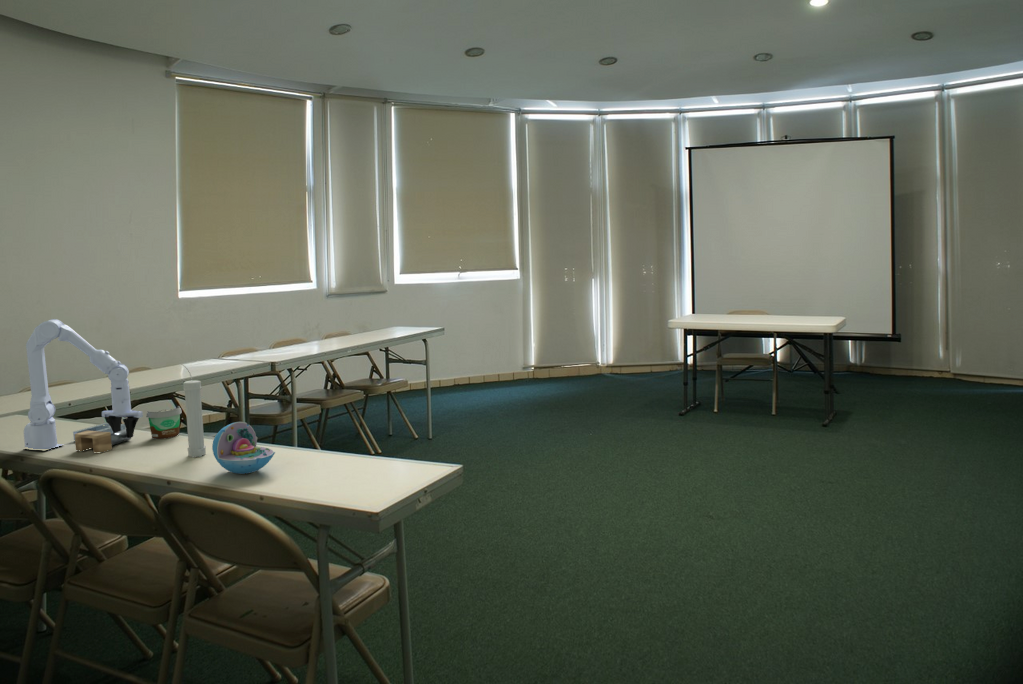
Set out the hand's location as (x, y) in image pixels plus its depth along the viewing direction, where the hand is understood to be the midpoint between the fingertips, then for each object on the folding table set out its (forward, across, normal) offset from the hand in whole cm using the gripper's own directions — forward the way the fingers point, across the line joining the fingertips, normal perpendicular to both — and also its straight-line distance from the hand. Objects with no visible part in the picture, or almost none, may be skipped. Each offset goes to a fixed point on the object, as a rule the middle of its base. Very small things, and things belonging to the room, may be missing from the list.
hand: (124, 437), depth 258 cm
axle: (+1, 0, -4) cm, 5 cm away
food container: (+2, +12, +8) cm, 14 cm away
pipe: (+2, +36, -14) cm, 39 cm away
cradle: (+1, -13, +4) cm, 13 cm away
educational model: (+2, +62, -30) cm, 69 cm away
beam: (+1, -2, -13) cm, 13 cm away
